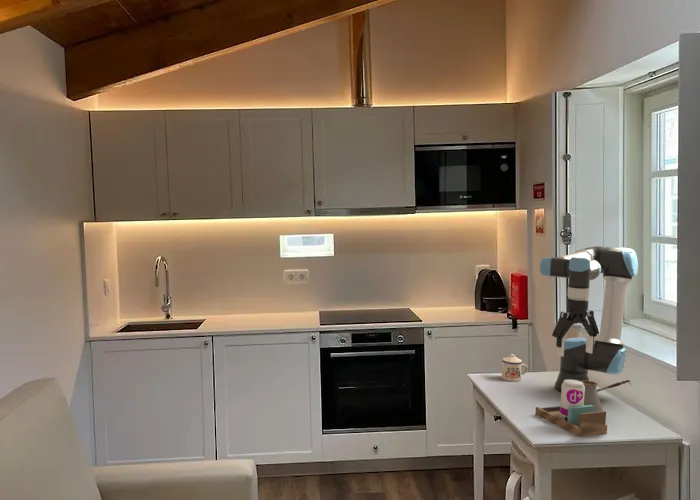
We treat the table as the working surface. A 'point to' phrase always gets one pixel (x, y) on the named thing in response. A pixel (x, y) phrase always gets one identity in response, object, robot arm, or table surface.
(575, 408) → the plate
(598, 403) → the coffee pot
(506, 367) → the teacup with lid
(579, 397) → the supplement can
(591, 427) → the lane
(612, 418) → the table surface
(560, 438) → the table surface
